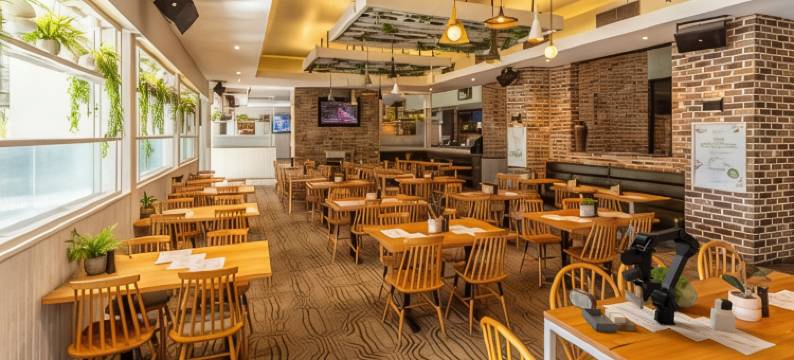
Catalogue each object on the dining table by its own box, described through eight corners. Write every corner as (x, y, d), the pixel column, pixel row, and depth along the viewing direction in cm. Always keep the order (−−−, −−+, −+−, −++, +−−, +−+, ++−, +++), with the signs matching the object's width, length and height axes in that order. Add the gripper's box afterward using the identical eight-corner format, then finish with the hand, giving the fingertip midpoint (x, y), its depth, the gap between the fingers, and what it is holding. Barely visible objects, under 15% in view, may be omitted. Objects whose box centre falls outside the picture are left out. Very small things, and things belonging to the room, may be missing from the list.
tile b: (621, 319, 205) (621, 313, 205) (625, 323, 201) (625, 317, 200) (610, 318, 205) (610, 313, 205) (614, 322, 201) (614, 317, 201)
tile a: (615, 314, 211) (616, 308, 210) (619, 318, 206) (620, 312, 206) (605, 314, 211) (605, 308, 211) (609, 318, 206) (609, 312, 206)
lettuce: (682, 318, 214) (695, 280, 213) (630, 296, 232) (642, 260, 230) (697, 317, 226) (709, 280, 225) (646, 296, 244) (658, 262, 242)
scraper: (639, 298, 210) (639, 282, 209) (655, 308, 197) (655, 292, 196) (625, 298, 210) (625, 282, 209) (640, 308, 197) (641, 292, 196)
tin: (596, 313, 219) (597, 295, 218) (591, 314, 218) (592, 295, 217) (572, 302, 233) (573, 285, 232) (567, 303, 231) (568, 286, 231)
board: (621, 318, 213) (621, 313, 212) (635, 331, 199) (635, 325, 198) (602, 317, 213) (602, 312, 213) (615, 330, 199) (615, 324, 199)
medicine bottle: (729, 326, 205) (731, 298, 204) (734, 332, 198) (736, 303, 197) (709, 324, 207) (711, 296, 206) (714, 330, 201) (716, 301, 200)
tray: (600, 316, 215) (600, 308, 215) (616, 332, 197) (616, 323, 197) (581, 315, 215) (582, 308, 215) (596, 331, 197) (596, 323, 197)
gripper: (614, 257, 211) (613, 292, 212) (635, 269, 192) (633, 307, 194) (640, 257, 211) (638, 292, 212) (663, 269, 192) (661, 307, 194)
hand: (642, 299), depth 203 cm, fingers closed on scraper, 4 cm apart
